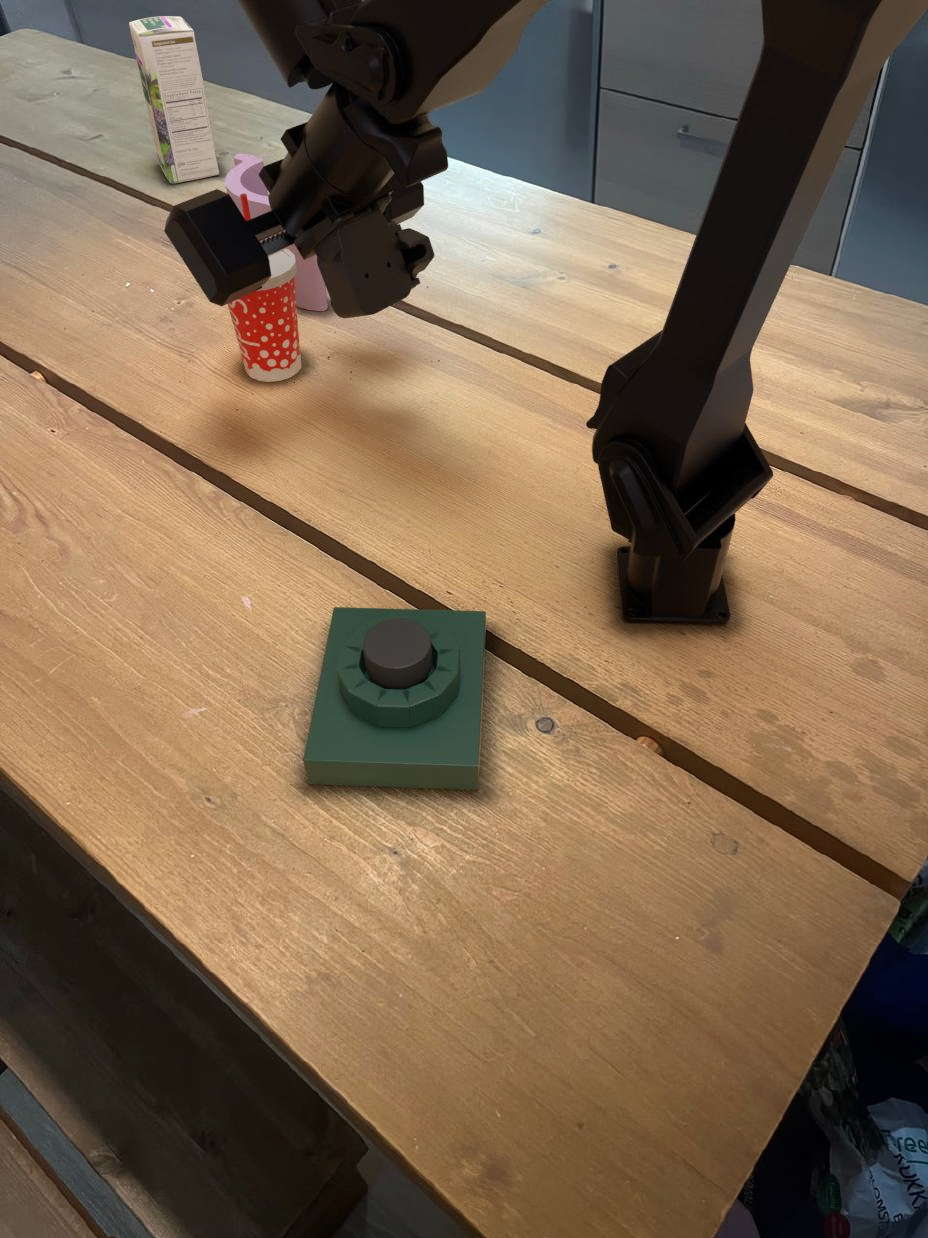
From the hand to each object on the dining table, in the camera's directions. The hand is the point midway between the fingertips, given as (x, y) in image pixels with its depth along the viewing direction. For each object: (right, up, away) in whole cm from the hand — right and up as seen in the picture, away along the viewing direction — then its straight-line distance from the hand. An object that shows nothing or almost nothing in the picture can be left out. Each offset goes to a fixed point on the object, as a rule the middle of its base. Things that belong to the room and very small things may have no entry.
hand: (262, 266), depth 72 cm
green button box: (+12, -31, -18) cm, 38 cm away
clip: (0, +8, +20) cm, 22 cm away
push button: (+12, -29, -20) cm, 37 cm away
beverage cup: (-1, -6, +7) cm, 9 cm away
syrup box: (-16, +24, +35) cm, 45 cm away
